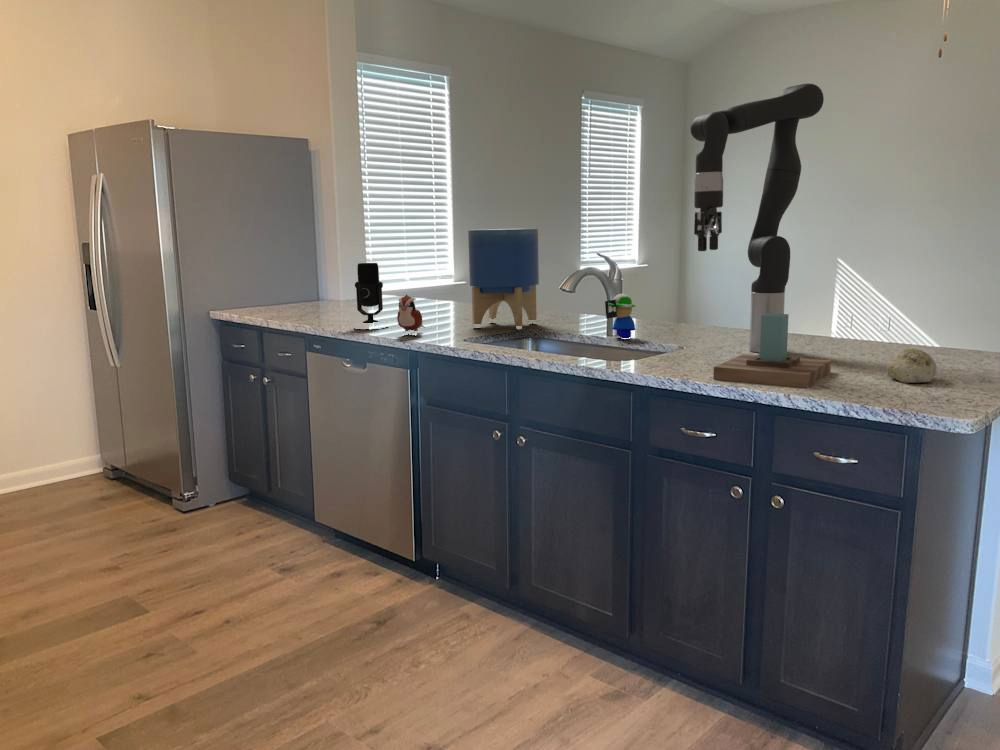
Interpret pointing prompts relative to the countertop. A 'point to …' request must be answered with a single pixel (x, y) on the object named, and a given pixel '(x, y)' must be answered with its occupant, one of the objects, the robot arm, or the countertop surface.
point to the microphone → (369, 289)
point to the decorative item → (912, 367)
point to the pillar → (774, 337)
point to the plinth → (773, 370)
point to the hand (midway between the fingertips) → (708, 250)
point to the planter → (503, 271)
